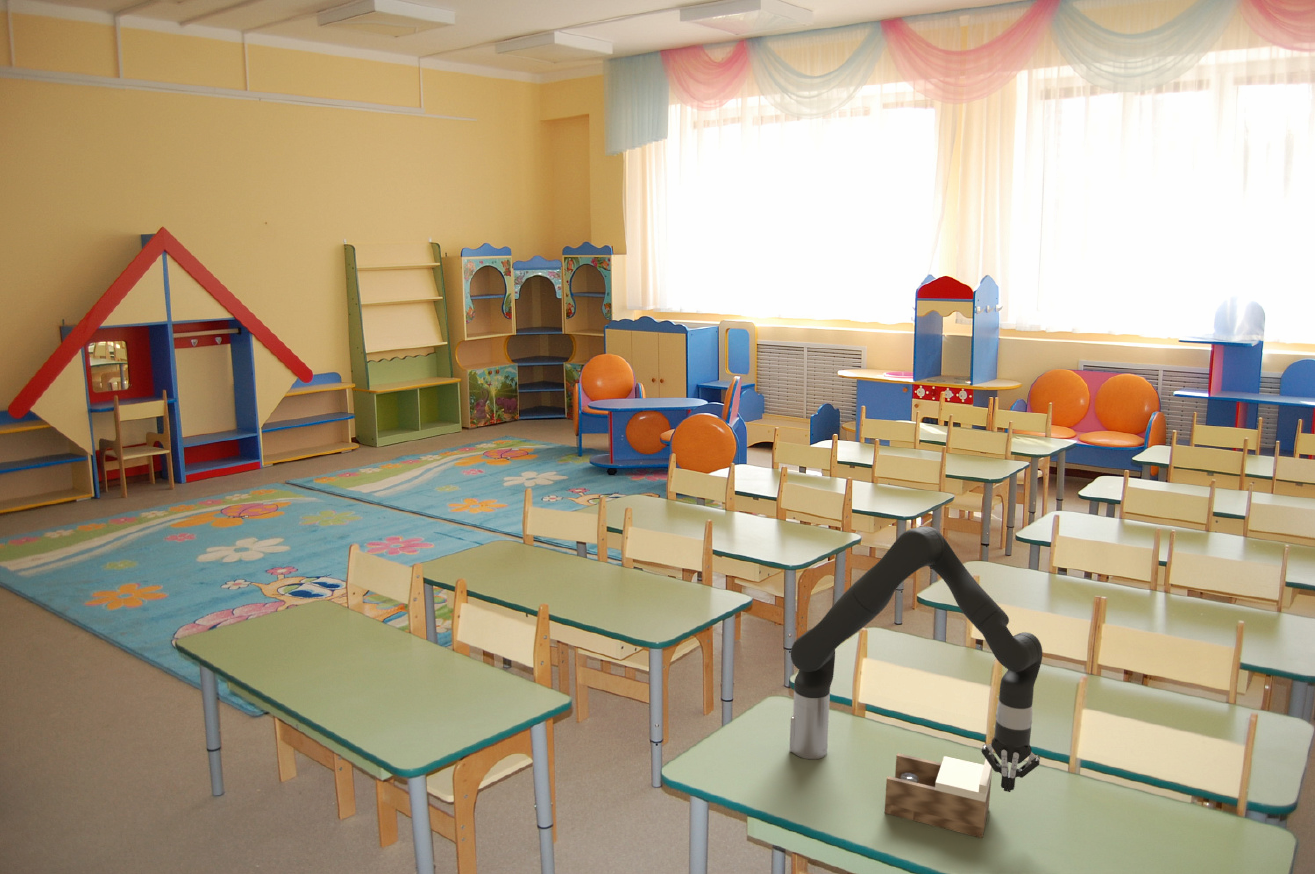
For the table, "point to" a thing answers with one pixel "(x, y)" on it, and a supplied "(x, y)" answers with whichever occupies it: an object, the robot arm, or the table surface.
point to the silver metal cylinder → (909, 777)
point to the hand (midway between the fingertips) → (1007, 789)
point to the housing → (932, 799)
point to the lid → (964, 778)
